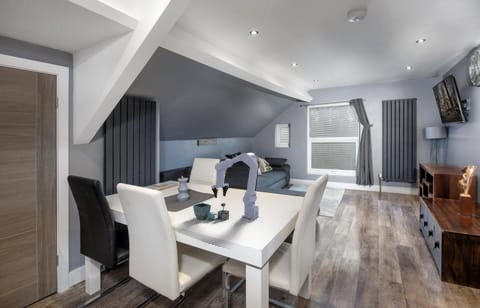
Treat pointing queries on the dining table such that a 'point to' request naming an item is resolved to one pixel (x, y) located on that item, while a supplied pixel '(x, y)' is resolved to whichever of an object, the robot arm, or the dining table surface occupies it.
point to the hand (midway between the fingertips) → (220, 197)
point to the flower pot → (201, 210)
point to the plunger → (223, 206)
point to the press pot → (223, 215)
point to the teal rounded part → (211, 216)
